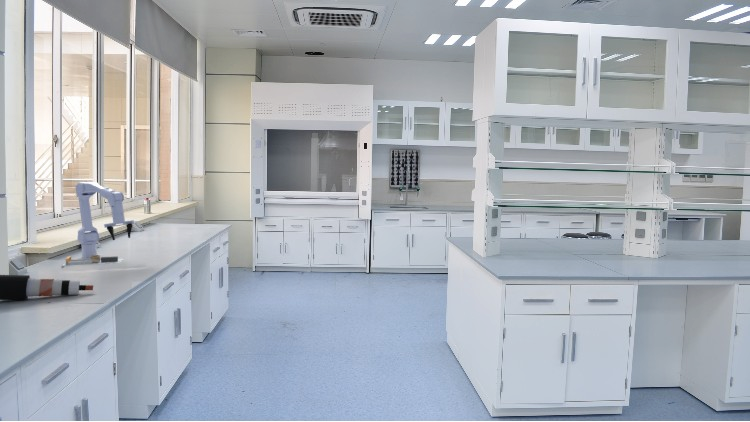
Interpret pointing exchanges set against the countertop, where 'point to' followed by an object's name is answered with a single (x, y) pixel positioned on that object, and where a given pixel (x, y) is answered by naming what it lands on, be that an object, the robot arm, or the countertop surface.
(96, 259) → the slider block
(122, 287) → the countertop surface
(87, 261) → the channel
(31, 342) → the countertop surface
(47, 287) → the cable
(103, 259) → the bar
